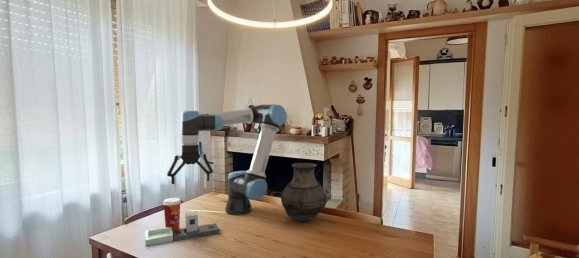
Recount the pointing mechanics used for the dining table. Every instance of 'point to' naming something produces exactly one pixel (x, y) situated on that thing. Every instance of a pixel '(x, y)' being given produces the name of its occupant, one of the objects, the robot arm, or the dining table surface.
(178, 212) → the coffee cup
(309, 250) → the dining table surface
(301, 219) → the vase
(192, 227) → the white upright box
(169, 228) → the tray
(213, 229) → the rail
